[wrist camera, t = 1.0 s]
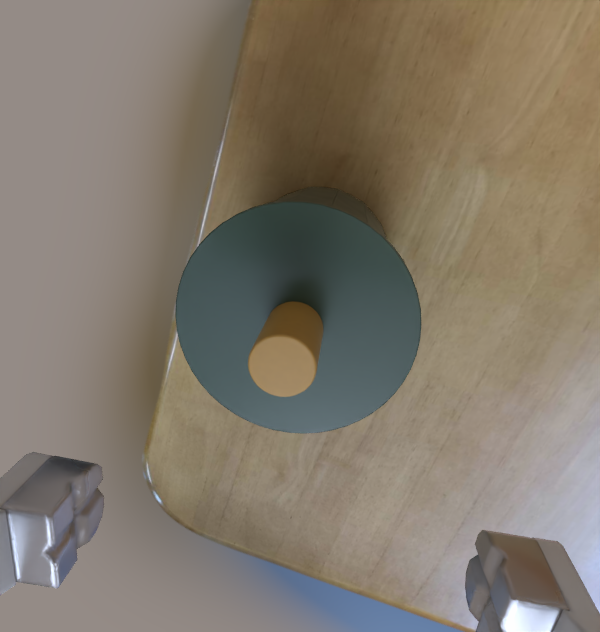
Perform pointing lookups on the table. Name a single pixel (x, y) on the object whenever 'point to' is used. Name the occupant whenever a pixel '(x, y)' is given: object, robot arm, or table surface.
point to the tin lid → (298, 316)
